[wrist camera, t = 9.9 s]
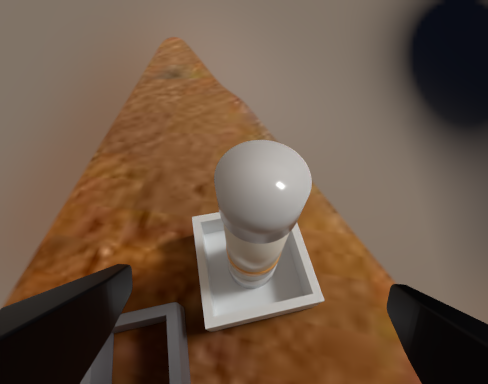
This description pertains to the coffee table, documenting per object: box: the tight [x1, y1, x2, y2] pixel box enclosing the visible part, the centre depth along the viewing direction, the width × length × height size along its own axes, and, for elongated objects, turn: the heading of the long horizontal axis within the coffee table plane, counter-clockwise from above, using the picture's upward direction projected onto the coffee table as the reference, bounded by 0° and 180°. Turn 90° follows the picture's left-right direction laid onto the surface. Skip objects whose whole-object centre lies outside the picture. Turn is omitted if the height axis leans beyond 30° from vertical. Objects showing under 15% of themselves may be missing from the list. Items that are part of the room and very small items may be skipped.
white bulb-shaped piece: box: [214, 140, 312, 289], centre depth 16 cm, size 4×4×13 cm
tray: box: [192, 212, 324, 332], centre depth 20 cm, size 8×8×4 cm
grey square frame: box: [80, 302, 191, 384], centre depth 17 cm, size 6×6×3 cm
